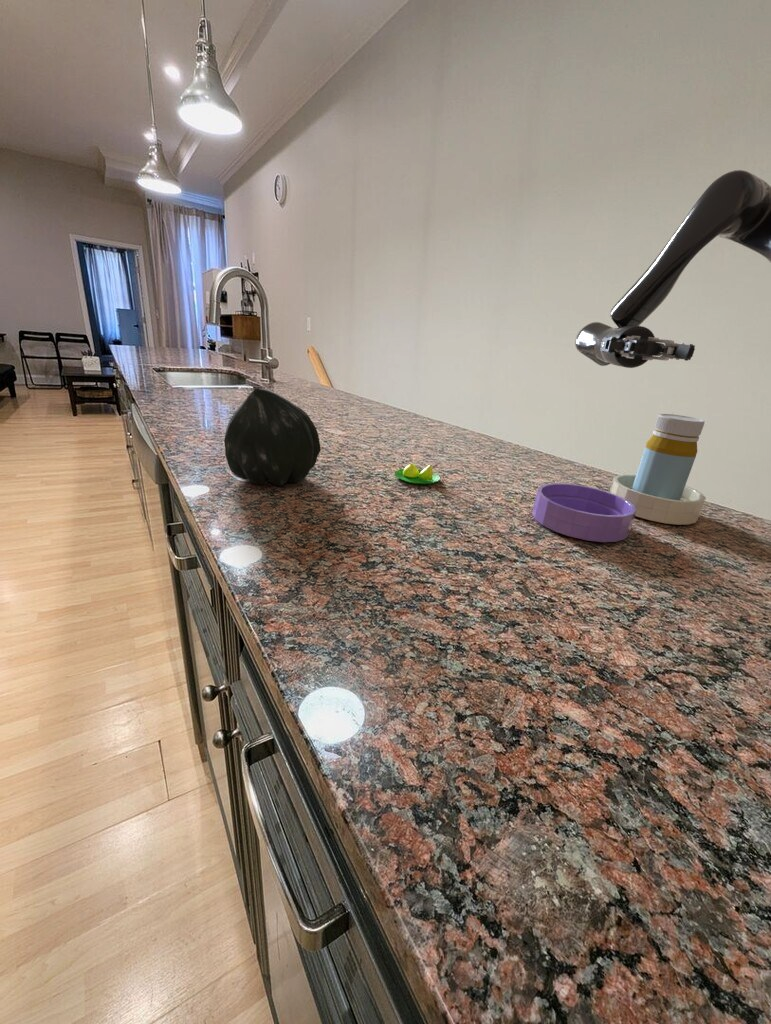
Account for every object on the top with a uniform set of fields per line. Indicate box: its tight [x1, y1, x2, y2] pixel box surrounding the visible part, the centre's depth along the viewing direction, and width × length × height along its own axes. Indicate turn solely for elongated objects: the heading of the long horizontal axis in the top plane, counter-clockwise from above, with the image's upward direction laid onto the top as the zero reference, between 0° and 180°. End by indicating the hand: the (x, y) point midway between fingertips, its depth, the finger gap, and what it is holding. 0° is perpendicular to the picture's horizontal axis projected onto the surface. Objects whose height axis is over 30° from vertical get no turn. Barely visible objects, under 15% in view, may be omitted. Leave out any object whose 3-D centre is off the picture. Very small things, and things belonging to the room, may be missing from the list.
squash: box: [223, 387, 322, 486], centre depth 70 cm, size 14×15×15 cm
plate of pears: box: [393, 462, 441, 486], centre depth 78 cm, size 8×8×3 cm
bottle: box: [632, 413, 705, 501], centre depth 71 cm, size 7×7×15 cm
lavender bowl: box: [531, 482, 636, 543], centre depth 65 cm, size 13×13×4 cm
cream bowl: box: [608, 474, 707, 526], centre depth 73 cm, size 13×13×4 cm
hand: (663, 349), depth 74 cm, fingers open, 8 cm apart
